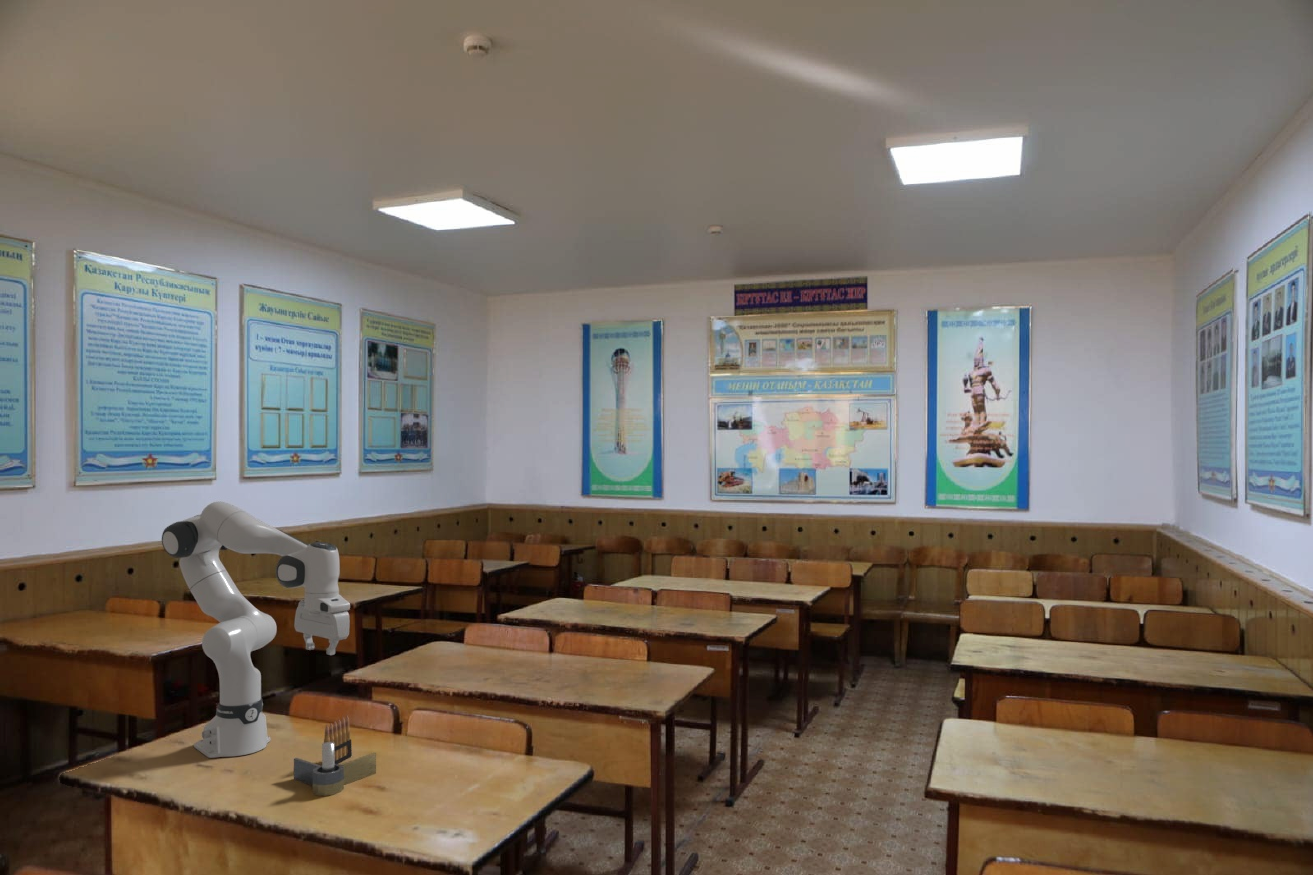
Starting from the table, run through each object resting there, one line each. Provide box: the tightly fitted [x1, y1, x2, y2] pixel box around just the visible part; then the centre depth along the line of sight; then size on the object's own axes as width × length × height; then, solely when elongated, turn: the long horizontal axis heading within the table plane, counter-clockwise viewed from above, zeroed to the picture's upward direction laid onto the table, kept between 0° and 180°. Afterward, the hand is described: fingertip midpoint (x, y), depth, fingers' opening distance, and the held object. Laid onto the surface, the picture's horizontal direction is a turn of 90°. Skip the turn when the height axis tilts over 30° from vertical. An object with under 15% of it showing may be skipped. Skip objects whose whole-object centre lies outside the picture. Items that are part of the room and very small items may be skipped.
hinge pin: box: [321, 742, 335, 773], centre depth 223 cm, size 3×3×12 cm
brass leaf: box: [312, 752, 377, 797], centre depth 227 cm, size 7×18×6 cm, turn 146°
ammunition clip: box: [323, 715, 353, 764], centre depth 243 cm, size 11×2×12 cm, turn 163°
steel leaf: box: [293, 757, 344, 787], centre depth 226 cm, size 18×7×6 cm, turn 56°
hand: (320, 651), depth 237 cm, fingers open, 8 cm apart
